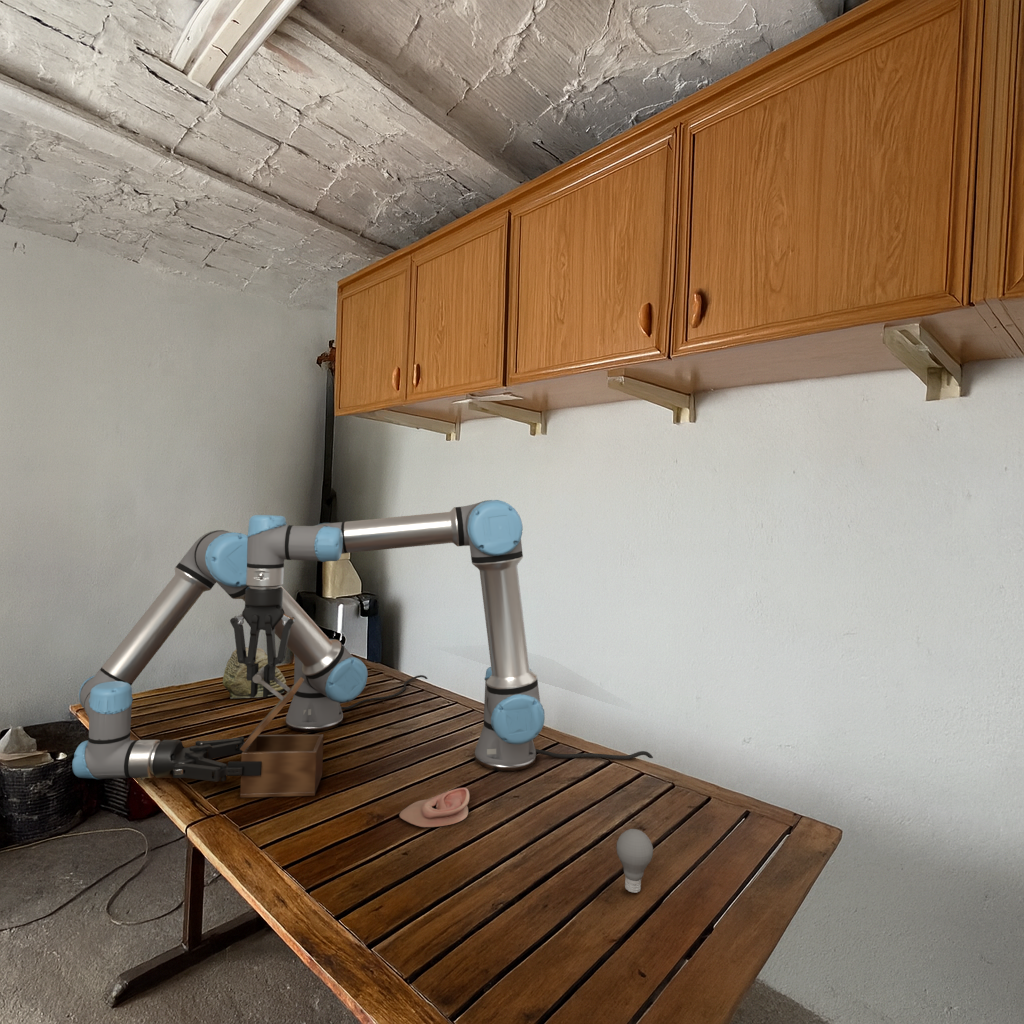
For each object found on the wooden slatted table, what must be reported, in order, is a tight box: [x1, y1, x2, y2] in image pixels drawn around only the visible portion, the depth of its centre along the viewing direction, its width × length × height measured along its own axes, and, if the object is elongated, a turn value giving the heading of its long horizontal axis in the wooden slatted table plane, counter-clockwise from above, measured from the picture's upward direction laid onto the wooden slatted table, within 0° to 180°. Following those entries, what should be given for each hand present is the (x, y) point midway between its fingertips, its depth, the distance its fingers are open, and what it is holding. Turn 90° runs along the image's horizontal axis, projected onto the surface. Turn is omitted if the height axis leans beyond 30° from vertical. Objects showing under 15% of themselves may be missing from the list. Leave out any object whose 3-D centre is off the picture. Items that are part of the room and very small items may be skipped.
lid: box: [240, 666, 304, 752], centre depth 137 cm, size 16×10×9 cm
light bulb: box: [615, 828, 654, 894], centre depth 106 cm, size 6×6×10 cm
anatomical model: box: [398, 787, 471, 828], centre depth 128 cm, size 13×4×12 cm
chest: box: [239, 733, 325, 799], centre depth 138 cm, size 15×10×9 cm
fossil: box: [222, 646, 288, 699], centre depth 198 cm, size 9×18×15 cm, turn 132°
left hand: (267, 757), depth 137 cm, fingers closed on chest, 10 cm apart
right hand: (260, 695), depth 137 cm, fingers closed on lid, 2 cm apart
